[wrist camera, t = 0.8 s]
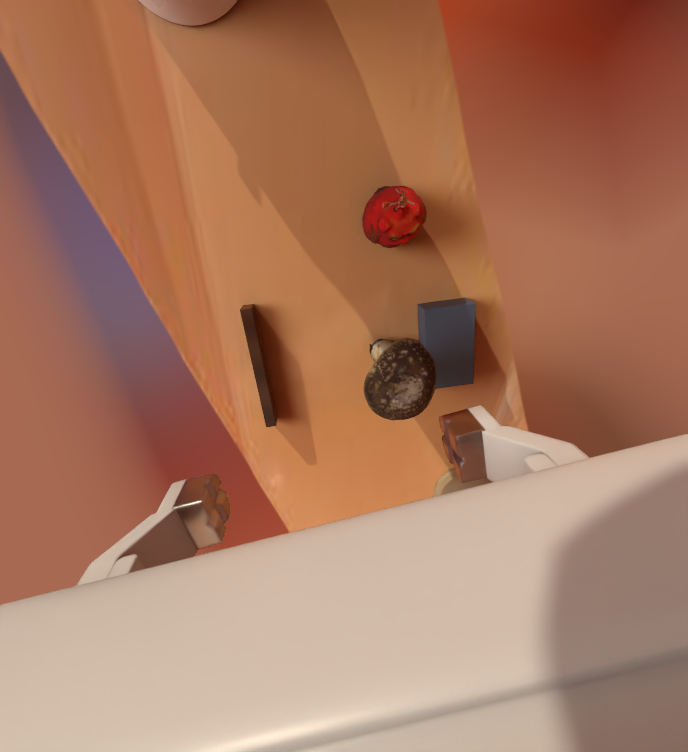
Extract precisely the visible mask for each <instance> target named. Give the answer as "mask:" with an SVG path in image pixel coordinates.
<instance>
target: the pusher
mask: <svg viewBox="0 0 688 752" xmlns="http://www.w3.org/2000/svg"><path fill="white" fill-rule="evenodd" d="M418 327H419V342H420V343H421V344H422V345H423V346H424V347H425V349H426V350H427V351H428V352H429V353H430V355H431V356H432V358H433V360H434V363H435V367H436V384H435V389H437V388H444V387H451V386H458V385H465V384H473V379H474V339H475V303H474V302H473V301H471V300H469V299H467V298H461V299H453V300H445V301H438V302H430V303H423V304H418Z"/></svg>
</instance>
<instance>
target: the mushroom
mask: <svg viewBox="0 0 688 752" xmlns="http://www.w3.org/2000/svg"><path fill="white" fill-rule="evenodd" d="M370 353H371V357H372V358H373V360H374V362H375V363H374V364H373V365H372V367H371V369H370V371H369V372H368V374H367V377H366V379H365V383H364V395H365V398H366V400H367V403H368V405H369V407H370V408H371V409H372V411H374V412H375V413H376V414H378V415H379V416H381V417H383V418H386V419H390V420H404V419H409V418H412V417H415V416H417V415H419V414H420V413H421V412H422V411H423V410H424V409H425V408H426V407H427V405H428V404H429V402H430V400H431V398H432V396H433V393H434V390H435V384H436V367H435V363H434V360H433V358H432V356H431V355H430V353H429V352H428V351H427V350H426V349H425V347H424V346H423V345H422V344H421V343H420V342H419V341H417V340H414V339H400V340H397V341H395V342H392V341H389V340H382V339H379V340H377V341H375V342H374V343H373V345H370Z"/></svg>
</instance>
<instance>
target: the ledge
mask: <svg viewBox="0 0 688 752" xmlns="http://www.w3.org/2000/svg"><path fill="white" fill-rule="evenodd" d="M240 312H241V317H242V321H243V325H244V330H245V334H246V339H247V343H248V348H249V352H250V357H251V361H252V365H253V370H254V374H255V379H256V383H257V388H258V392H259V396H260V401H261V405H262V410H263V414H264V419H265V423H266V427H271V426H276V424H277V413H276V408H275V403H274V398H273V394H272V389H271V384H270V379H269V375H268V370H267V365H266V360H265V355H264V351H263V346H262V341H261V336H260V332H259V327H258V322H257V317H256V312H255V308H254V304H251V305H243V306H242V308H241V309H240Z"/></svg>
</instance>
